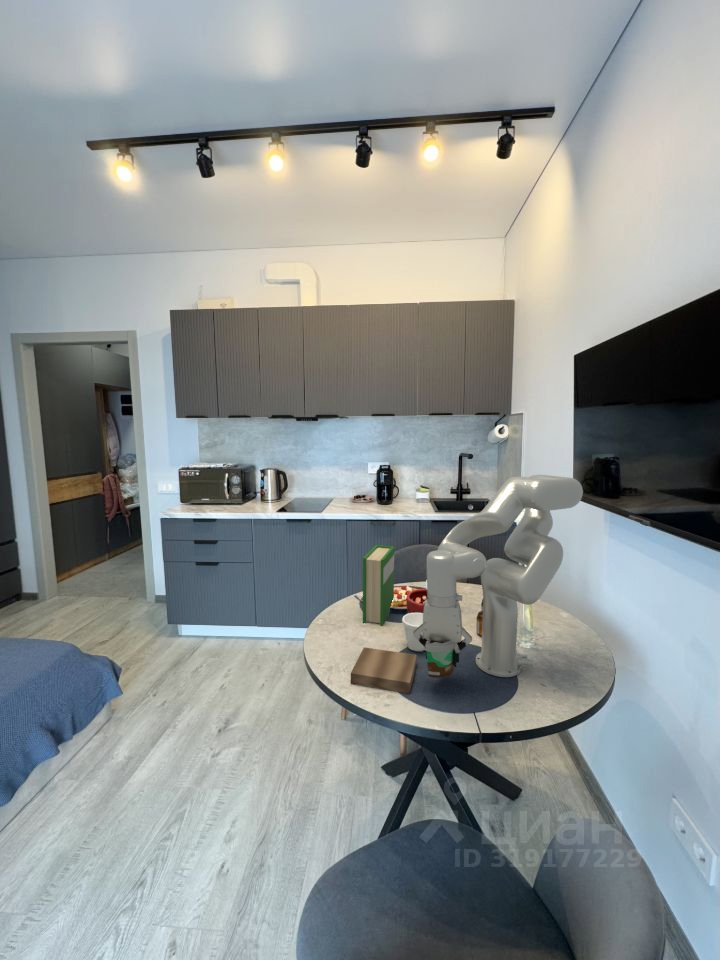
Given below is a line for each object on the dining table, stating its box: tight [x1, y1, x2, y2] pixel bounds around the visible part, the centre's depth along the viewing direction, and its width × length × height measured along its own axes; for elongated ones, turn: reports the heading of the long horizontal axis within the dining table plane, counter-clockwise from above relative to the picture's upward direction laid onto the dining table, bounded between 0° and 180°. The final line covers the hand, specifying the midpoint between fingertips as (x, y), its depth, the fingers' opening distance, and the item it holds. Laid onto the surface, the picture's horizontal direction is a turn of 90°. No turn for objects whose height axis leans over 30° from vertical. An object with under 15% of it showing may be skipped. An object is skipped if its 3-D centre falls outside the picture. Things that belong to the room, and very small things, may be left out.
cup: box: [401, 613, 426, 653], centre depth 128 cm, size 10×10×9 cm
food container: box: [424, 641, 458, 679], centre depth 108 cm, size 12×6×10 cm, turn 148°
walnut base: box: [350, 647, 418, 695], centre depth 114 cm, size 16×14×3 cm
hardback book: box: [362, 544, 395, 627], centre depth 151 cm, size 18×7×24 cm, turn 163°
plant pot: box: [406, 588, 427, 614], centre depth 140 cm, size 13×13×12 cm
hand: (442, 662), depth 108 cm, fingers closed on food container, 5 cm apart
